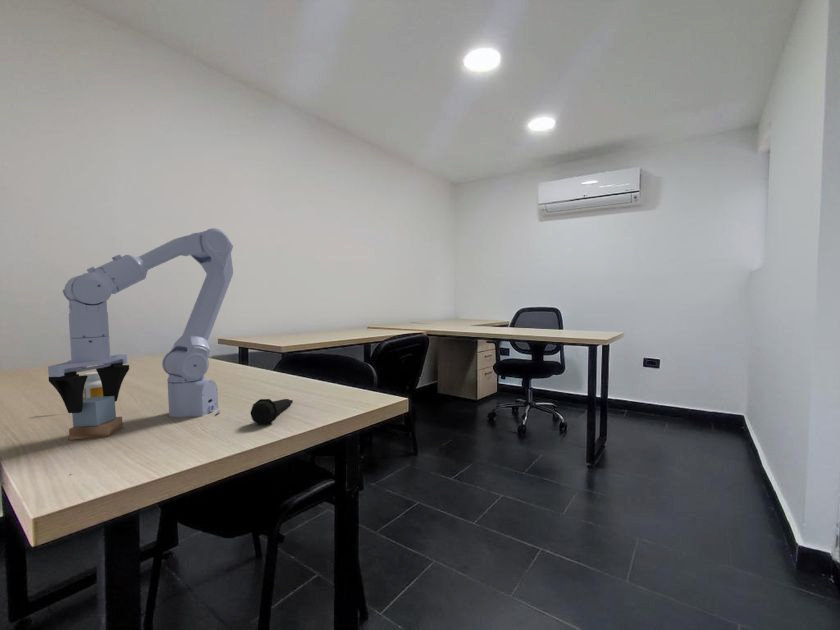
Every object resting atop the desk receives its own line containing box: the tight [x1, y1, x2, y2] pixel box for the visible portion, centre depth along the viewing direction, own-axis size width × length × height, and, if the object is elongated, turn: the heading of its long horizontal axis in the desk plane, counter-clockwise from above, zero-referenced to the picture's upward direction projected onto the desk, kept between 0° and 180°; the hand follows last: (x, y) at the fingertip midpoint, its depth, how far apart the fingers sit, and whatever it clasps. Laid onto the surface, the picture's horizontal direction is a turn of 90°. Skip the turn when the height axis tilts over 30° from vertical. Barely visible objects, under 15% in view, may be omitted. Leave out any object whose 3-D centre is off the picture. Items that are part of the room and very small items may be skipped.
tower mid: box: [68, 416, 124, 441], centre depth 74 cm, size 6×6×2 cm
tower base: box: [67, 426, 125, 441], centre depth 74 cm, size 6×6×2 cm
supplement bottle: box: [83, 371, 103, 400], centre depth 95 cm, size 5×5×10 cm
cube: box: [71, 396, 117, 427], centre depth 74 cm, size 4×4×4 cm
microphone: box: [249, 398, 294, 425], centre depth 90 cm, size 6×6×20 cm
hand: (93, 406), depth 74 cm, fingers open, 7 cm apart
